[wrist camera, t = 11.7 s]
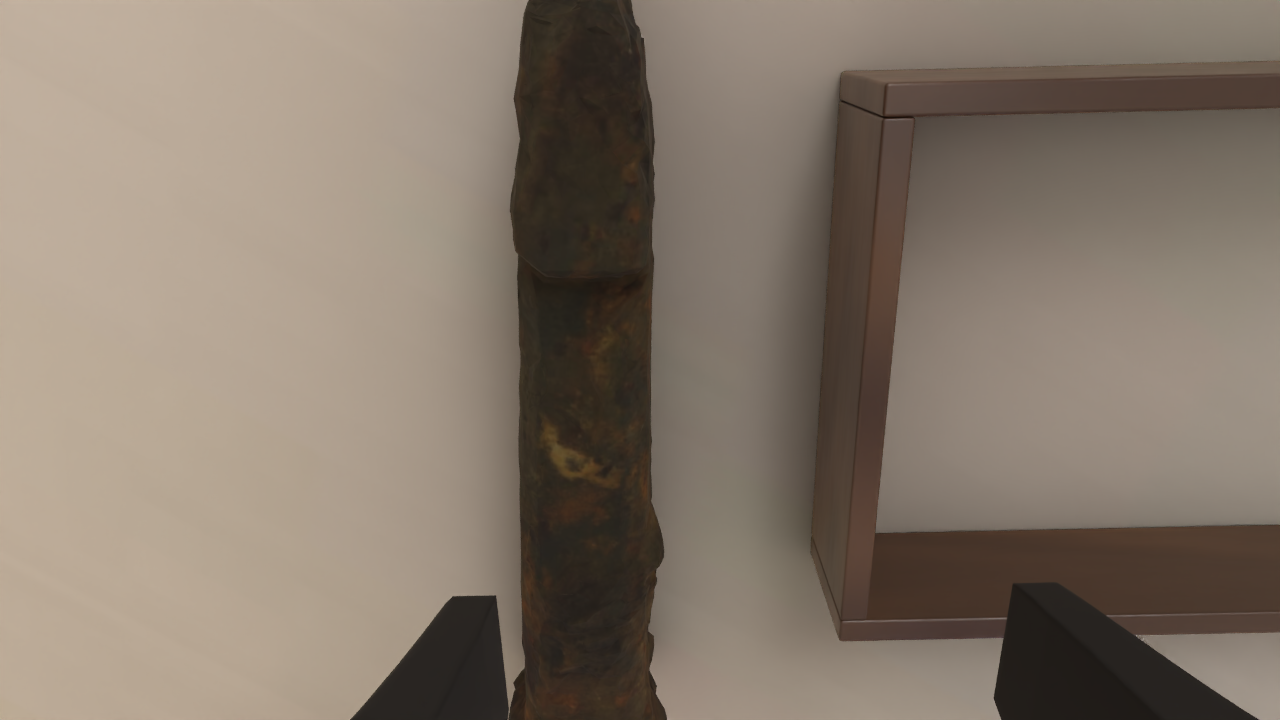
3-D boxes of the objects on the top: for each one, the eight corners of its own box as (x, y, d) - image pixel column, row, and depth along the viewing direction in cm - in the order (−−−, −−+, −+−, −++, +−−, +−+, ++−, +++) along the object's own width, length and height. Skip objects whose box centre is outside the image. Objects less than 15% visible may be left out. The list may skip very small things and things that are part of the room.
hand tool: (660, 673, 24) (667, 815, 20) (519, 666, 24) (495, 808, 20) (731, -65, 17) (766, -94, 13) (533, -80, 17) (499, -115, 13)
